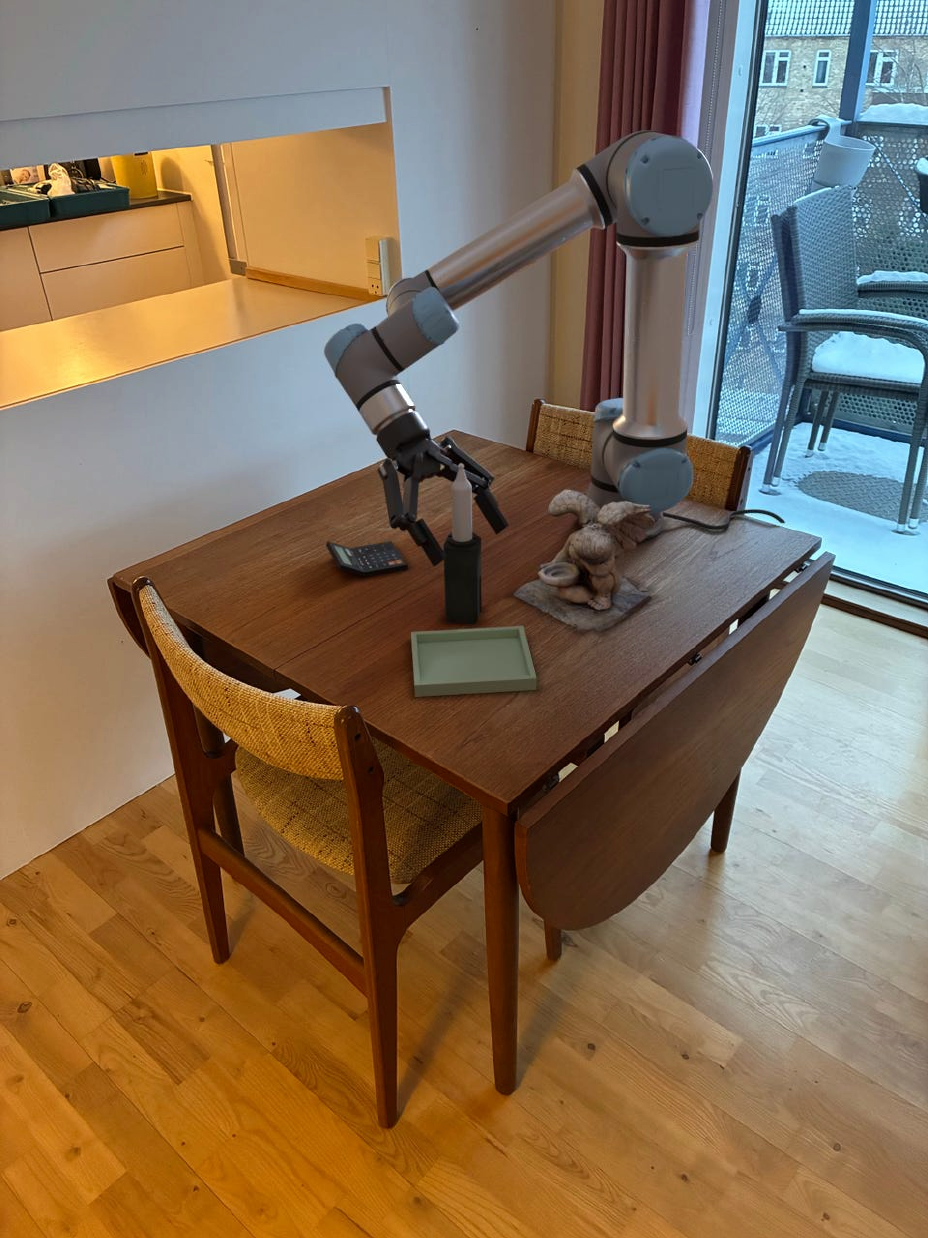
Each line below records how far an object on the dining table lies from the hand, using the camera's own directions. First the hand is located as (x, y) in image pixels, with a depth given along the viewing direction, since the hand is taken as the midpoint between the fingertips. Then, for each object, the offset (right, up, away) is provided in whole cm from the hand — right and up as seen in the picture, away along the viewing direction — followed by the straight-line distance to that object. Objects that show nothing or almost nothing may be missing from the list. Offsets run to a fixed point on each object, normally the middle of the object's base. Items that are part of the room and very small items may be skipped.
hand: (472, 545), depth 141 cm
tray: (0, -17, -4) cm, 18 cm away
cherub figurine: (+18, -7, +13) cm, 23 cm away
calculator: (-18, -1, +23) cm, 29 cm away
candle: (-1, -10, +8) cm, 13 cm away
